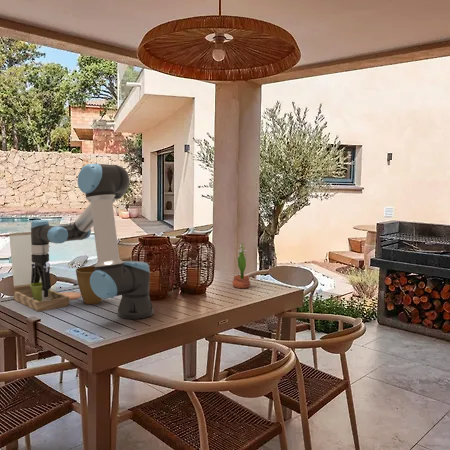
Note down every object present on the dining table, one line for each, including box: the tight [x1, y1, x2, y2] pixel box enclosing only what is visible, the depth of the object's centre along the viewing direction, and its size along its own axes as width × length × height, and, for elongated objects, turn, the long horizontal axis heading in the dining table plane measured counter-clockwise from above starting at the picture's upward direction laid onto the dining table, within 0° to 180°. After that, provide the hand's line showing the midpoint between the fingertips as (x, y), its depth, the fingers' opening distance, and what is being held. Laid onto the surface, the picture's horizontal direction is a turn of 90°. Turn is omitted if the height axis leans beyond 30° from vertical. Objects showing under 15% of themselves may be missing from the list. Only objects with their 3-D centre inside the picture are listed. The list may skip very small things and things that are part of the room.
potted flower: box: [231, 243, 251, 289], centre depth 251 cm, size 12×10×25 cm
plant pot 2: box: [75, 265, 103, 305], centre depth 212 cm, size 15×15×16 cm
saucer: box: [59, 291, 82, 301], centre depth 222 cm, size 13×13×1 cm
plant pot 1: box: [29, 282, 51, 302], centre depth 210 cm, size 9×9×9 cm
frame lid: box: [8, 231, 41, 287], centre depth 219 cm, size 25×14×1 cm
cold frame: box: [13, 284, 70, 312], centre depth 210 cm, size 26×14×6 cm, turn 46°
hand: (40, 301), depth 210 cm, fingers closed on plant pot 1, 8 cm apart
